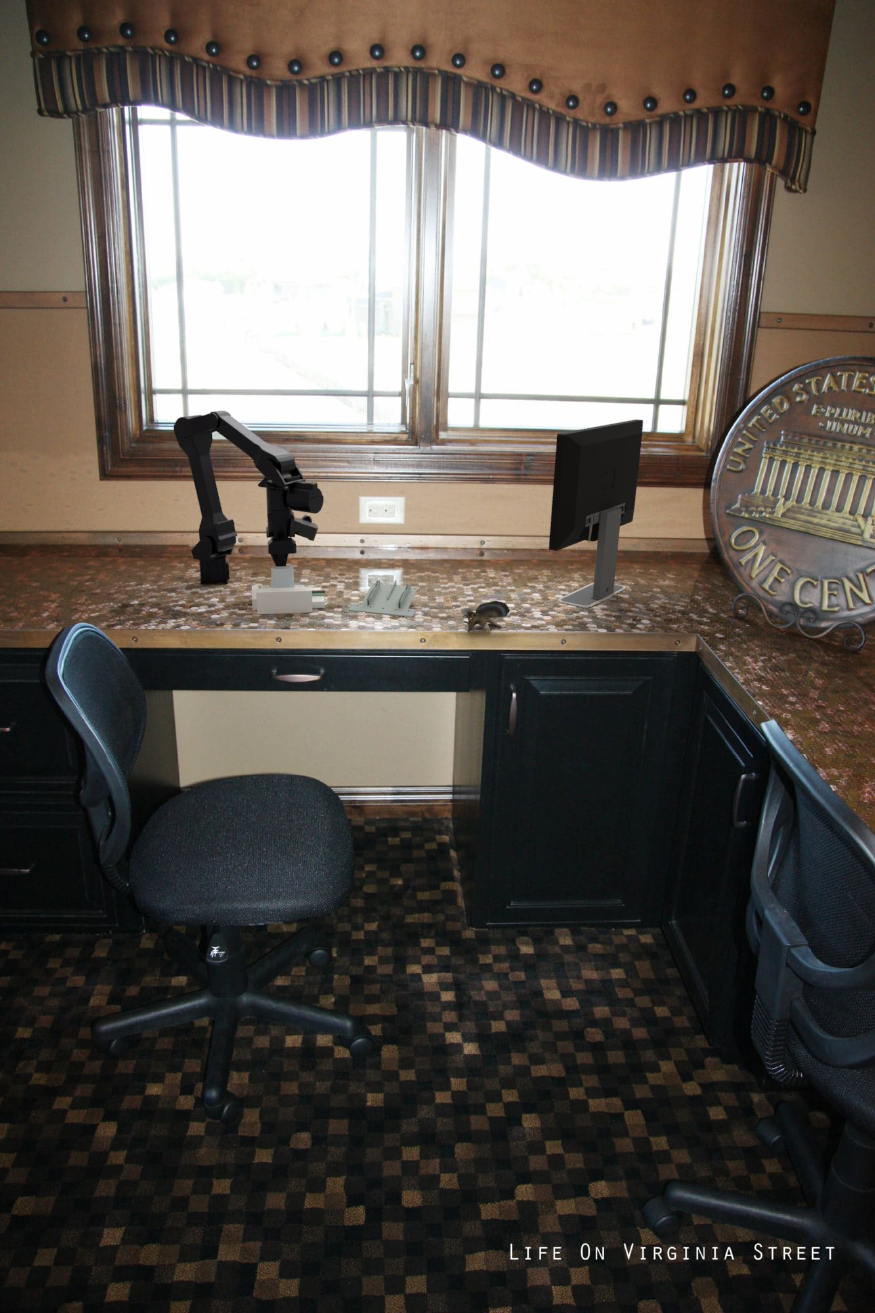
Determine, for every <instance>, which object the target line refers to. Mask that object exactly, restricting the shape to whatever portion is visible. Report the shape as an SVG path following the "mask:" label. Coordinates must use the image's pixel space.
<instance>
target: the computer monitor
mask: <svg viewBox="0 0 875 1313" xmlns="http://www.w3.org/2000/svg"><path fill="white" fill-rule="evenodd" d="M643 429H644V420H643V419H638V418H637V419H631V420H626V421H619V422H614V423H609V424H603V425H597V426H593V427H588V428H582V429H577V430H570V431H564V432H558V433H557V434H556V444H555V445H556V446H555V459H554V460H555V461H554V471H553V472H554V473H553V485H552V498H551V499H552V500H551V515H550V526H549V527H550V528H549V542H548V550H549V551H553V552H554V551H555V552H558V551H560V550H564V549H565V548H569V547H571V546H573V545H575V544H578V543H581V542H584V541H586V542H588V543H590V542H591V543H592V542H597V544H596V552H595V553H596V554H595V564H594V565H595V566H594V576H593V582H591V583H590V584H588V585H585V586H583V587H581V588H578V589H577V590H575V591H572V592H570V593H568V594H566V595H564V596H561V597H560V598H558V602H559V603H560V604H563V603H564V604H563V605H567V604H570V605H569V606H572V605H573V607H576V606H579V607H578V608H581V607H582V608H584V609H589V607H590V608H592V606H593V607H594V605H595V606H596V604H597V605H598V604H600V603H602V602H604V601H606V600H608V599H609V598H612V597H614V596H616V595H618V594H619V593H622V592H624V591H625V590H626V587H625V586H624V585H622V584H617V583H616V584H615V582H616V581H615V580H616V569H617V561H618V560H617V559H618V552H619V550H618V548H619V539H620V530H621V527H622V526H625V525H627V524H630V523H632V522H633V520H634V516H635V514H634V513H635V506H636V496H637V486H638V480H639V478H638V477H639V469H640V458H641V449H642V440H643V432H644V431H643ZM621 591H622V592H621ZM617 593H618V594H617ZM613 595H614V596H613ZM582 608H581V609H582Z"/></svg>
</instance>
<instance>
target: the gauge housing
mask: <svg viewBox="0 0 875 1313" xmlns="http://www.w3.org/2000/svg"><path fill="white" fill-rule="evenodd" d="M312 590H322V587H311V586H305V587H293V588H261V587H260V588H259V584H258V585H251V598H252V599H251V602H252V603H251V605H252V611H257V615H276V614H278V615H279V614H305V613H313V609H325V608H326V607H325V606H326V604H325V603H326V601H325V598H324V593H318V594H312Z"/></svg>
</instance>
